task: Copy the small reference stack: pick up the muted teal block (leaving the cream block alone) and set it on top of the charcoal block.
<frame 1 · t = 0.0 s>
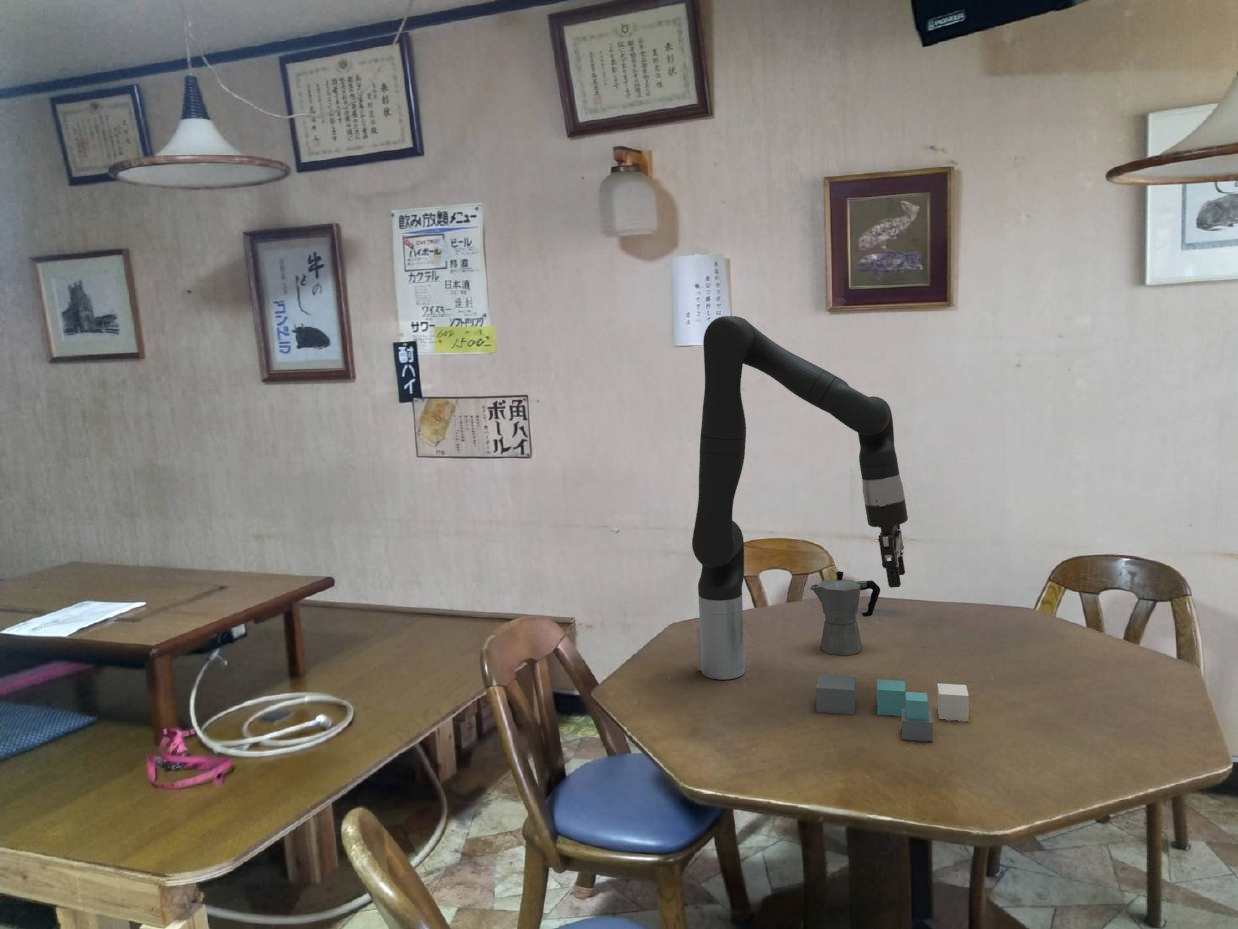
hand: (897, 580, 172), 22 cm above the table, tool pointing down, fingers open, 8 cm apart
teal block: (891, 710, 166), on the table
reference stack: (916, 734, 156), on the table
coffeepot: (846, 649, 199), on the table
cream block: (952, 715, 163), on the table
charcoal block: (836, 706, 170), on the table
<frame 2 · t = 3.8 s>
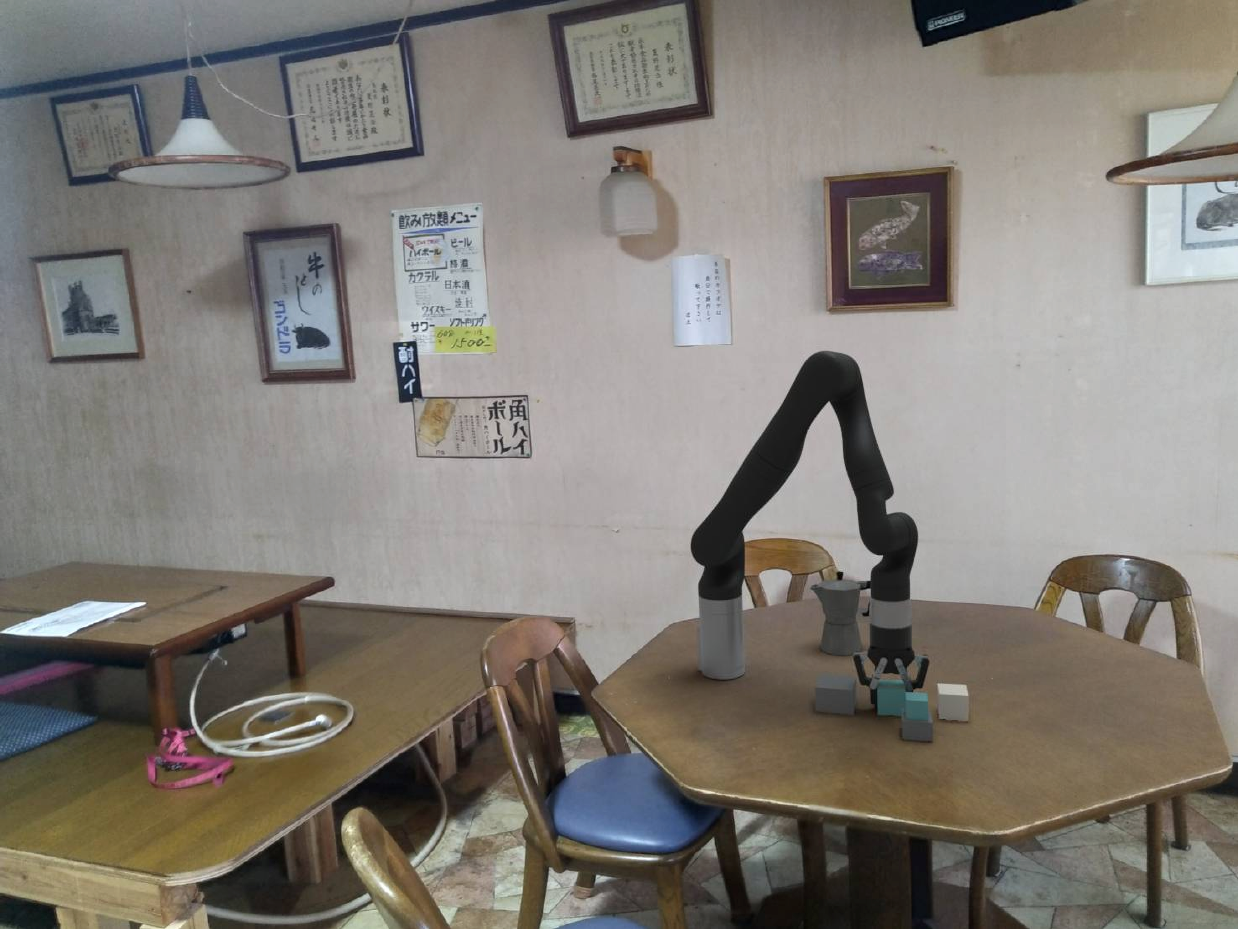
hand: (891, 706, 166), 1 cm above the table, tool pointing down, fingers closed on teal block, 5 cm apart
teal block: (891, 710, 166), on the table, touching gripper
everything else where it was.
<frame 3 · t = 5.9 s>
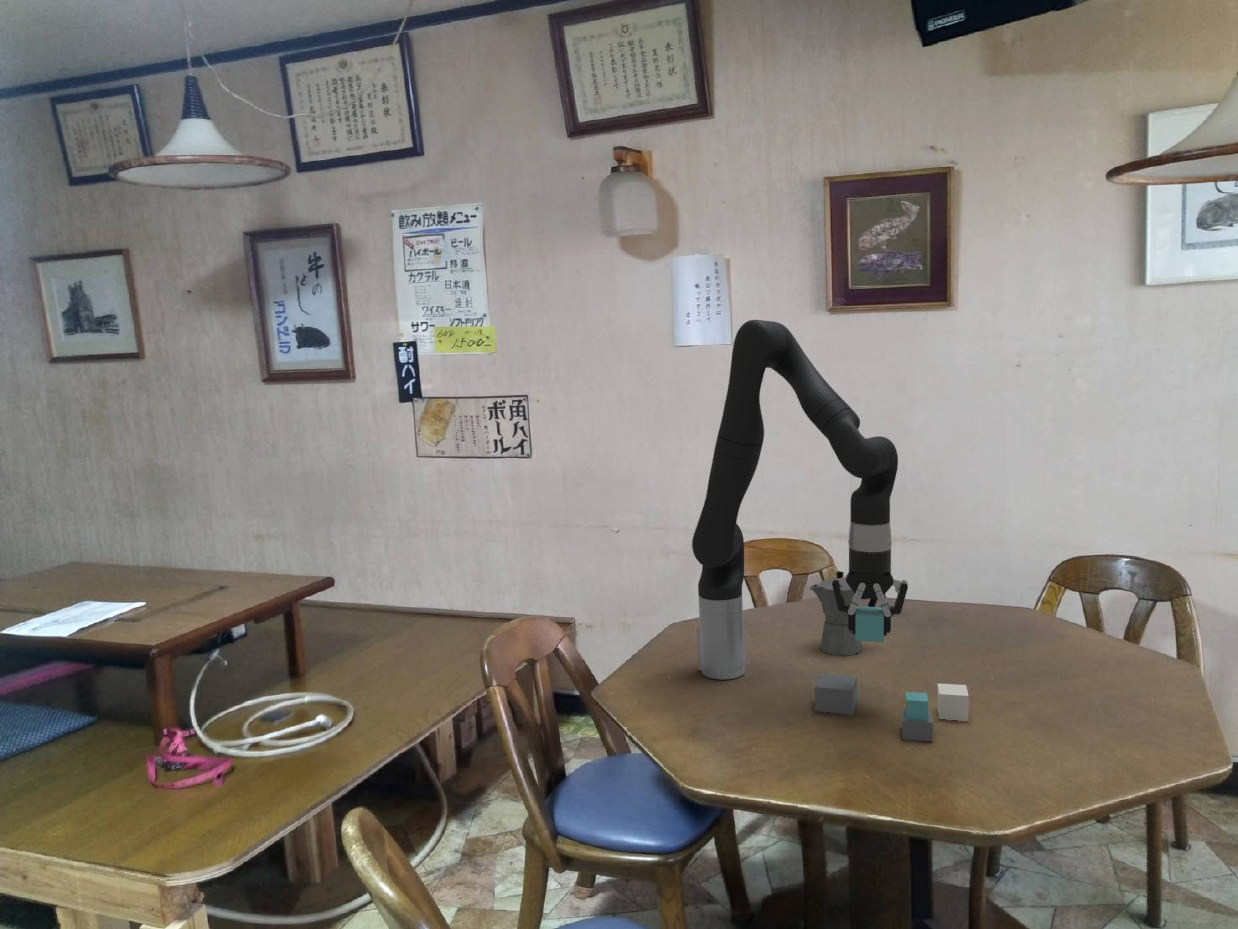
hand: (869, 633, 166), 15 cm above the table, tool pointing down, fingers closed on teal block, 5 cm apart
teal block: (869, 636, 166), point 14 cm above the table, touching gripper
everything else where it was.
when the fingers open (7 cm above the table, at t = 8.0 s): teal block drops 2 cm, resting on charcoal block.
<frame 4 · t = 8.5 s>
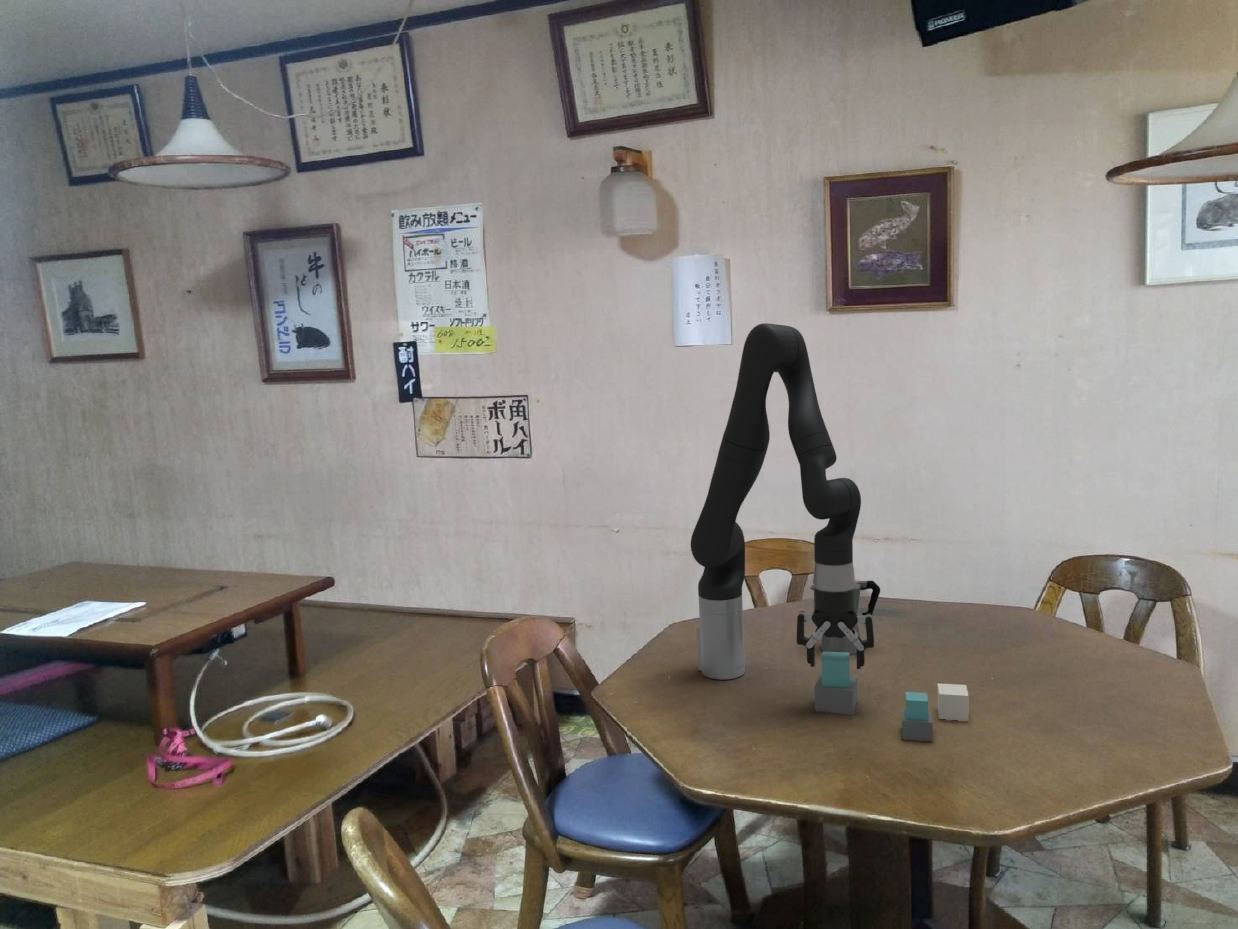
hand: (835, 666, 168), 8 cm above the table, tool pointing down, fingers open, 8 cm apart
teal block: (835, 681, 169), point 5 cm above the table, touching charcoal block
charcoal block: (836, 706, 170), on the table, touching teal block
everything else where it was.
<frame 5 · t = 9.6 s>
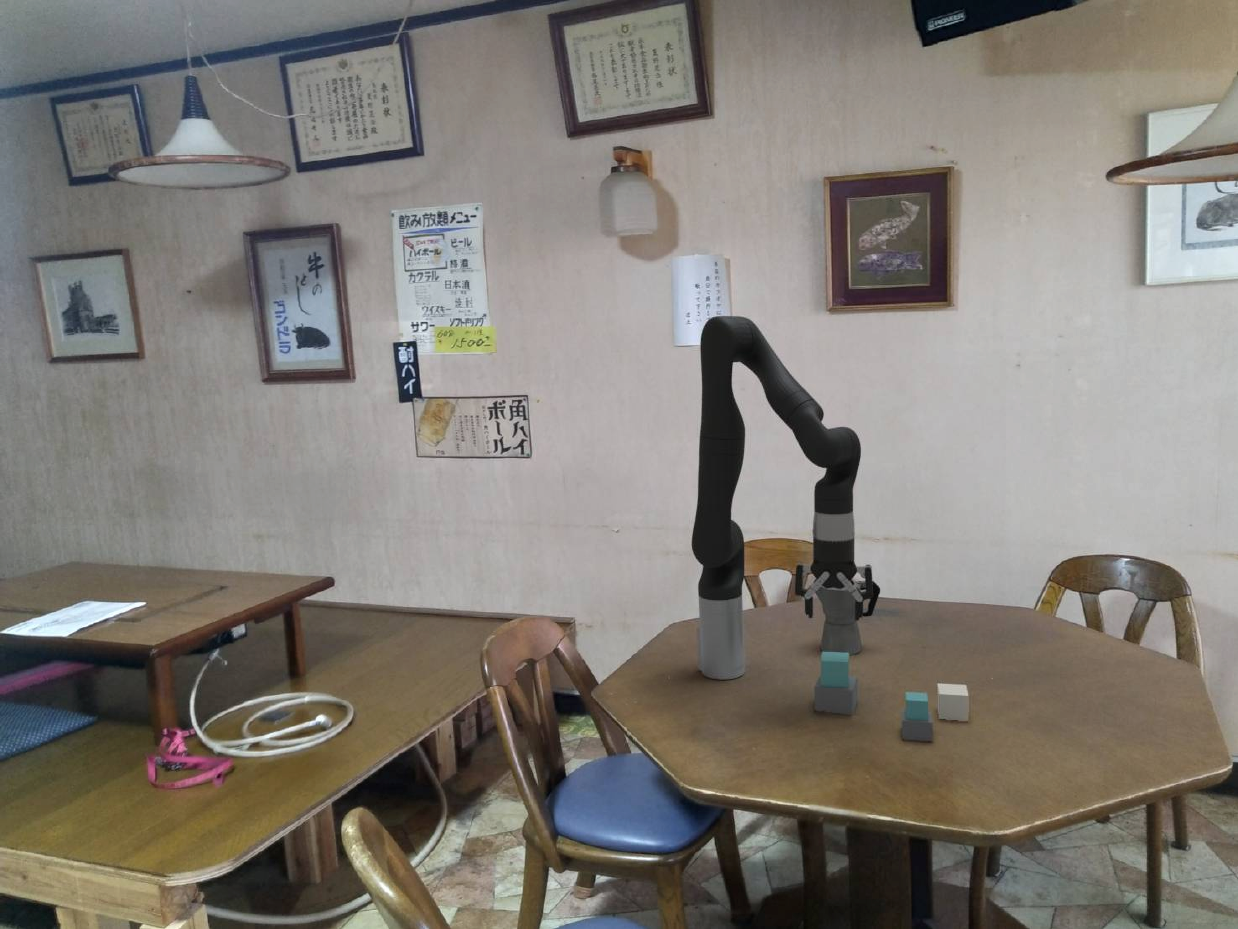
hand: (833, 618, 167), 17 cm above the table, tool pointing down, fingers open, 8 cm apart
nothing on the table moved.
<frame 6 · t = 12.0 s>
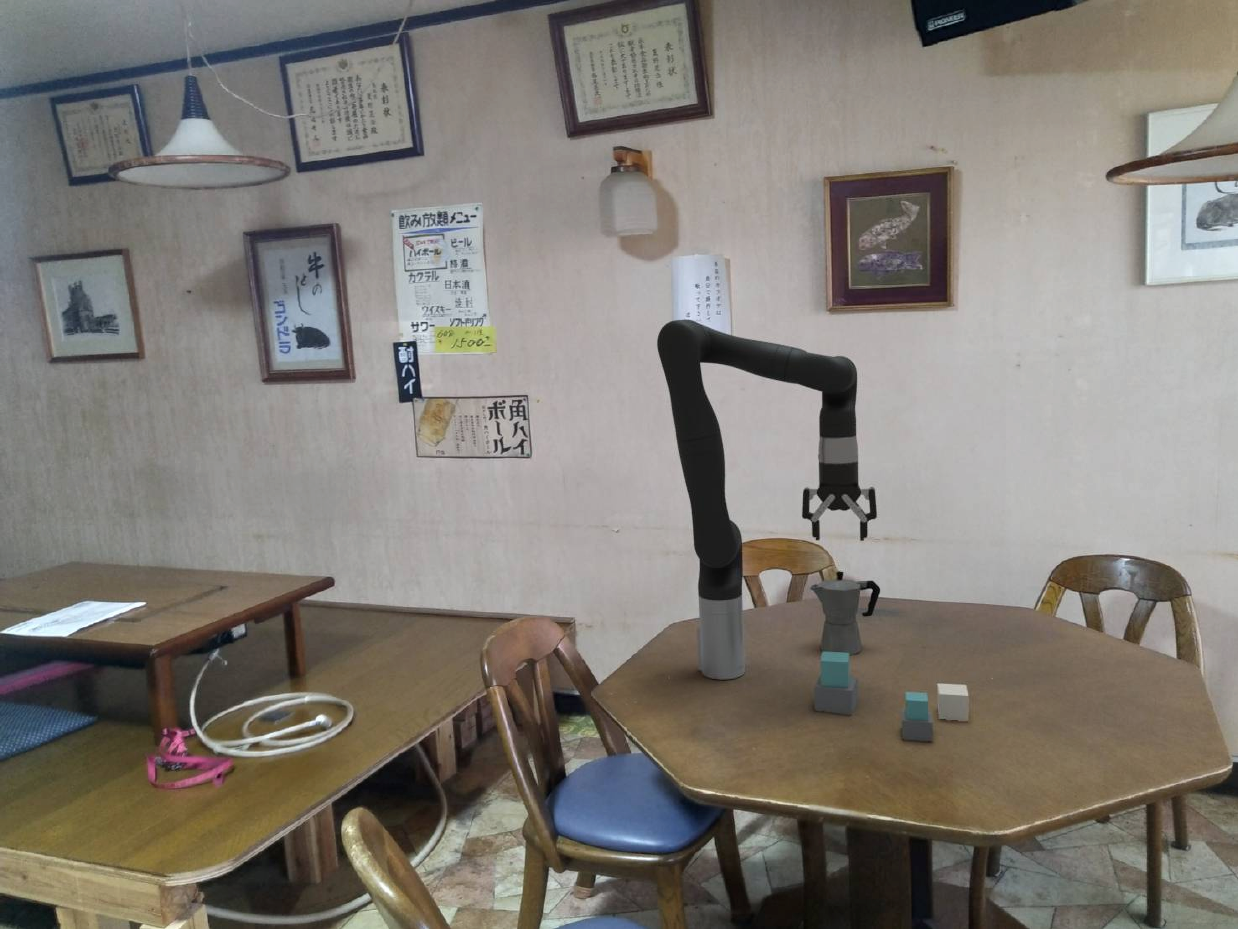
hand: (839, 539, 175), 30 cm above the table, tool pointing down, fingers open, 8 cm apart
nothing on the table moved.
at the end: teal block 0.1 cm off-centre on the charcoal block, point 5.0 cm above the charcoal block's base; teal block tilted 0°; cream block moved 0.1 cm from its start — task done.
